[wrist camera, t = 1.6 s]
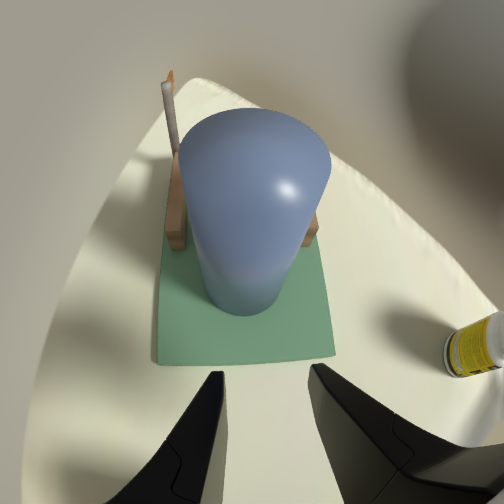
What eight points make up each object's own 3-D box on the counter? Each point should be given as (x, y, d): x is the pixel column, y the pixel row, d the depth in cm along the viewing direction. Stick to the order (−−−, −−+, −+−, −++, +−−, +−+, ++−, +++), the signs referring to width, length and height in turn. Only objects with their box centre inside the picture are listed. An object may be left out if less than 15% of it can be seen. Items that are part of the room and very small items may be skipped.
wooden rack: (309, 246, 24) (348, 162, 15) (166, 250, 23) (134, 163, 14) (290, 151, 29) (307, 70, 20) (178, 152, 28) (166, 70, 19)
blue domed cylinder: (296, 276, 22) (356, 154, 11) (246, 332, 20) (266, 245, 9) (240, 231, 24) (249, 94, 13) (188, 280, 22) (147, 154, 10)
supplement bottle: (448, 386, 19) (516, 371, 11) (436, 340, 21) (501, 311, 14) (477, 366, 20) (539, 345, 12) (466, 324, 22) (525, 293, 14)
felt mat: (332, 356, 20) (335, 355, 20) (159, 365, 19) (157, 364, 19) (299, 166, 29) (300, 162, 28) (173, 168, 28) (172, 164, 27)
